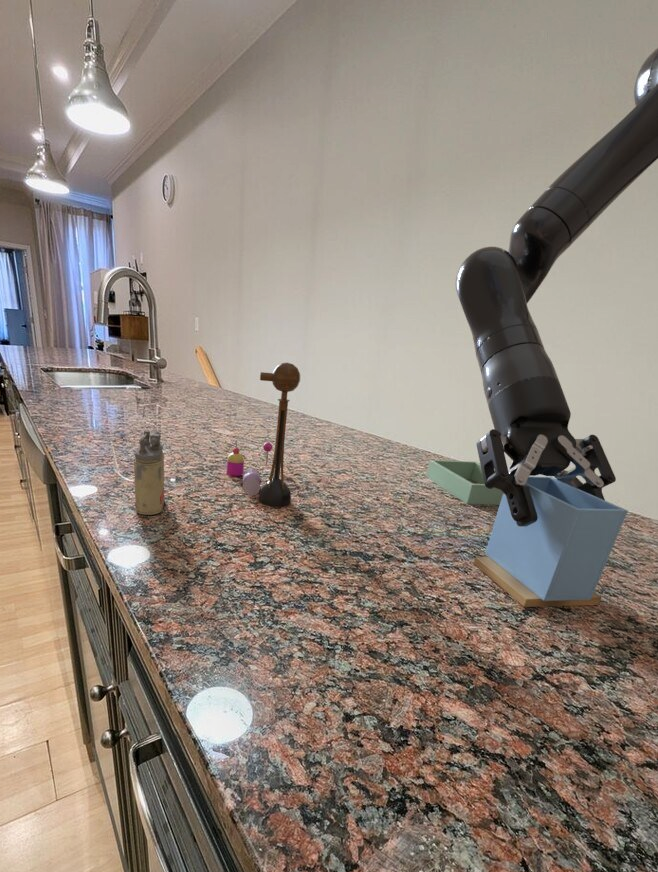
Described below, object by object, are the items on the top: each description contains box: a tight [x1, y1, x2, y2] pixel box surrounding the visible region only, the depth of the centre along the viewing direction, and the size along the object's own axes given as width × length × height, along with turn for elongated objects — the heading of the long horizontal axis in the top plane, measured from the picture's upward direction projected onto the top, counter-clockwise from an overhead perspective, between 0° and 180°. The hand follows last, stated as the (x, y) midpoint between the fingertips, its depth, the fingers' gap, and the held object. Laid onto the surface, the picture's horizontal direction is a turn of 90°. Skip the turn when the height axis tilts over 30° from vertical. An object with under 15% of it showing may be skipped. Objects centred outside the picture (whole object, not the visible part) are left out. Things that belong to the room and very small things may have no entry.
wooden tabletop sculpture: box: [258, 362, 301, 508], centre depth 63 cm, size 6×5×20 cm
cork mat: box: [473, 556, 602, 608], centre depth 50 cm, size 9×9×1 cm
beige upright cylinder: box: [133, 430, 166, 516], centre depth 60 cm, size 7×4×10 cm, turn 8°
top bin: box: [485, 476, 629, 601], centre depth 48 cm, size 6×10×10 cm, turn 10°
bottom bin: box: [425, 459, 503, 506], centre depth 74 cm, size 9×13×5 cm
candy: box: [226, 439, 273, 497], centre depth 76 cm, size 18×8×6 cm, turn 3°
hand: (564, 524), depth 46 cm, fingers open, 8 cm apart
